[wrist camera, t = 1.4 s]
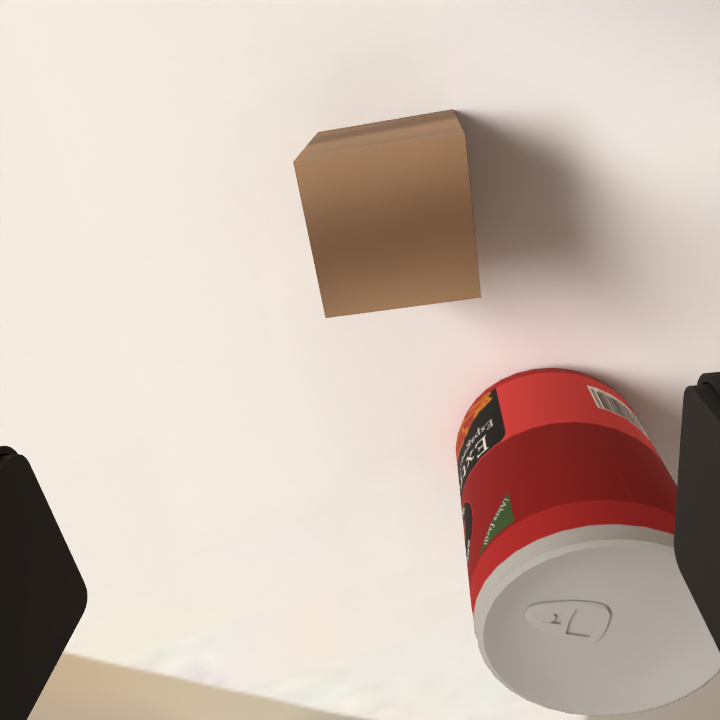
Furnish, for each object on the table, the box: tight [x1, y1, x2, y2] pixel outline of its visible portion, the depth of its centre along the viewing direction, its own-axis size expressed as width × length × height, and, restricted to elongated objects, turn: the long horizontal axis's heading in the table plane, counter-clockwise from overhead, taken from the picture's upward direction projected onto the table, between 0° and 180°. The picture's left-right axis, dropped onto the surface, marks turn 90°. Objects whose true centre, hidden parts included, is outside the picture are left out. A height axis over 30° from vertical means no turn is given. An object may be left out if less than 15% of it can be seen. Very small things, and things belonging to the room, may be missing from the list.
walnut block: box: [293, 109, 481, 318], centre depth 23 cm, size 5×5×6 cm
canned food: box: [456, 368, 720, 716], centre depth 25 cm, size 8×8×11 cm
